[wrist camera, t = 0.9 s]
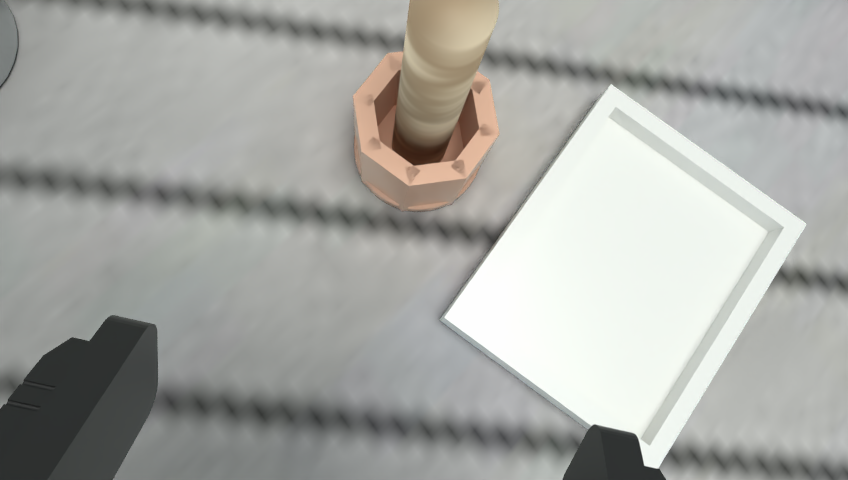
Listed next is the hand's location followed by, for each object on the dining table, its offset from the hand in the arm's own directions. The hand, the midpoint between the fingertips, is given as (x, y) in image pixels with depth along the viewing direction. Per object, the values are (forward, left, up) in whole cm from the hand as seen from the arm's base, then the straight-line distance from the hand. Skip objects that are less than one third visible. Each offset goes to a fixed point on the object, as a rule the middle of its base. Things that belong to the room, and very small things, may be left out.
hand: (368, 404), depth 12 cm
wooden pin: (-5, +12, -25) cm, 29 cm away
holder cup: (-5, +12, -26) cm, 30 cm away
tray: (+9, +13, -26) cm, 31 cm away
